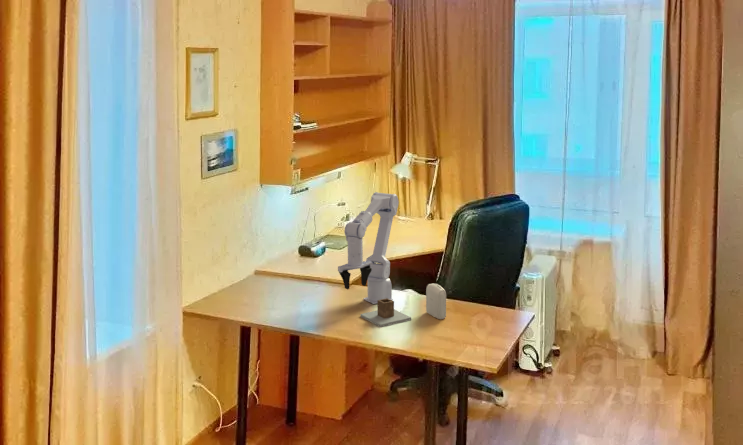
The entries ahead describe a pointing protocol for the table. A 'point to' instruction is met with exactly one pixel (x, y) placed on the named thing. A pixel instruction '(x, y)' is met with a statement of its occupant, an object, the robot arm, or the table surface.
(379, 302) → the hollow wooden block
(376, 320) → the pin base
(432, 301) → the photo printer
